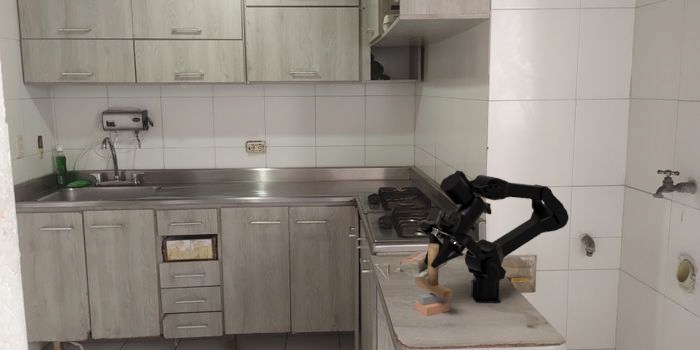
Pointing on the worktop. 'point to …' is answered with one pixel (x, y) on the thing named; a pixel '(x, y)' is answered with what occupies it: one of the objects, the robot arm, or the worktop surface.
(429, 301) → the fulcrum stand
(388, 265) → the pair of ivory hairpins
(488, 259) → the robot arm
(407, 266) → the packaged product
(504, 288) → the worktop surface
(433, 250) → the wooden stamp
